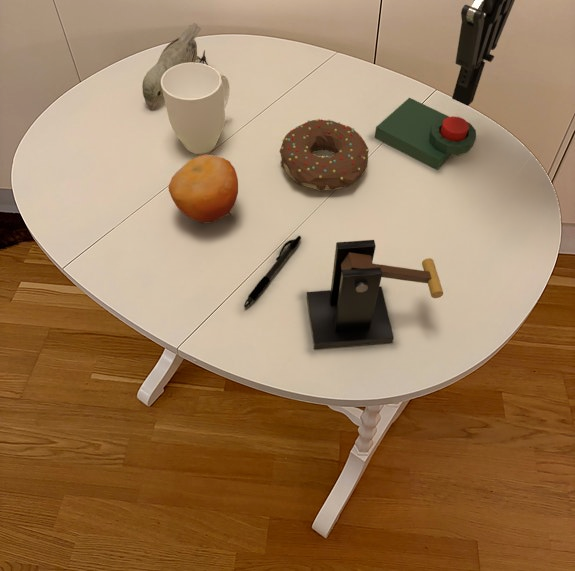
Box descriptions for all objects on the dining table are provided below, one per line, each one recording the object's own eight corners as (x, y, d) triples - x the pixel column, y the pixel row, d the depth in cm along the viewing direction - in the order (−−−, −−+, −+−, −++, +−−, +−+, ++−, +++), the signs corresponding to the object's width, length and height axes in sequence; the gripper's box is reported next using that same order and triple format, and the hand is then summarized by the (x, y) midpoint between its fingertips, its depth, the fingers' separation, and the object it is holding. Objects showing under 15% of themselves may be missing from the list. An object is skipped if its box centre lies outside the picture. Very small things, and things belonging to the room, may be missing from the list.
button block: (481, 144, 98) (488, 124, 94) (450, 177, 93) (457, 157, 90) (407, 108, 103) (411, 88, 100) (374, 137, 98) (377, 118, 95)
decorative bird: (136, 105, 102) (127, 67, 96) (187, 57, 111) (182, 19, 105) (163, 115, 101) (155, 77, 95) (212, 65, 109) (209, 27, 103)
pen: (293, 236, 85) (293, 231, 84) (303, 241, 85) (303, 235, 84) (238, 305, 78) (237, 300, 77) (248, 311, 78) (248, 306, 77)
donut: (264, 154, 96) (264, 129, 92) (337, 128, 99) (340, 103, 95) (308, 212, 88) (309, 188, 84) (385, 182, 92) (390, 157, 88)
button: (470, 132, 94) (473, 123, 92) (458, 145, 92) (460, 136, 90) (448, 121, 95) (451, 112, 94) (435, 134, 93) (437, 125, 92)
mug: (203, 170, 93) (194, 106, 84) (161, 147, 96) (148, 83, 86) (249, 130, 99) (245, 66, 89) (208, 110, 102) (200, 46, 92)
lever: (427, 268, 74) (437, 256, 72) (437, 301, 71) (448, 289, 70) (338, 255, 70) (347, 242, 69) (345, 289, 67) (354, 277, 66)
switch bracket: (380, 291, 80) (395, 228, 70) (392, 342, 75) (410, 283, 65) (306, 297, 79) (310, 233, 69) (314, 349, 75) (319, 290, 64)
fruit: (194, 250, 85) (170, 203, 77) (180, 208, 90) (156, 161, 83) (257, 225, 85) (239, 176, 78) (238, 184, 91) (221, 135, 83)
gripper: (510, -98, 74) (462, 69, 93) (457, -59, 68) (417, 110, 87) (567, -79, 71) (505, 89, 90) (517, -38, 65) (462, 133, 84)
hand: (462, 99), depth 89 cm, fingers closed
